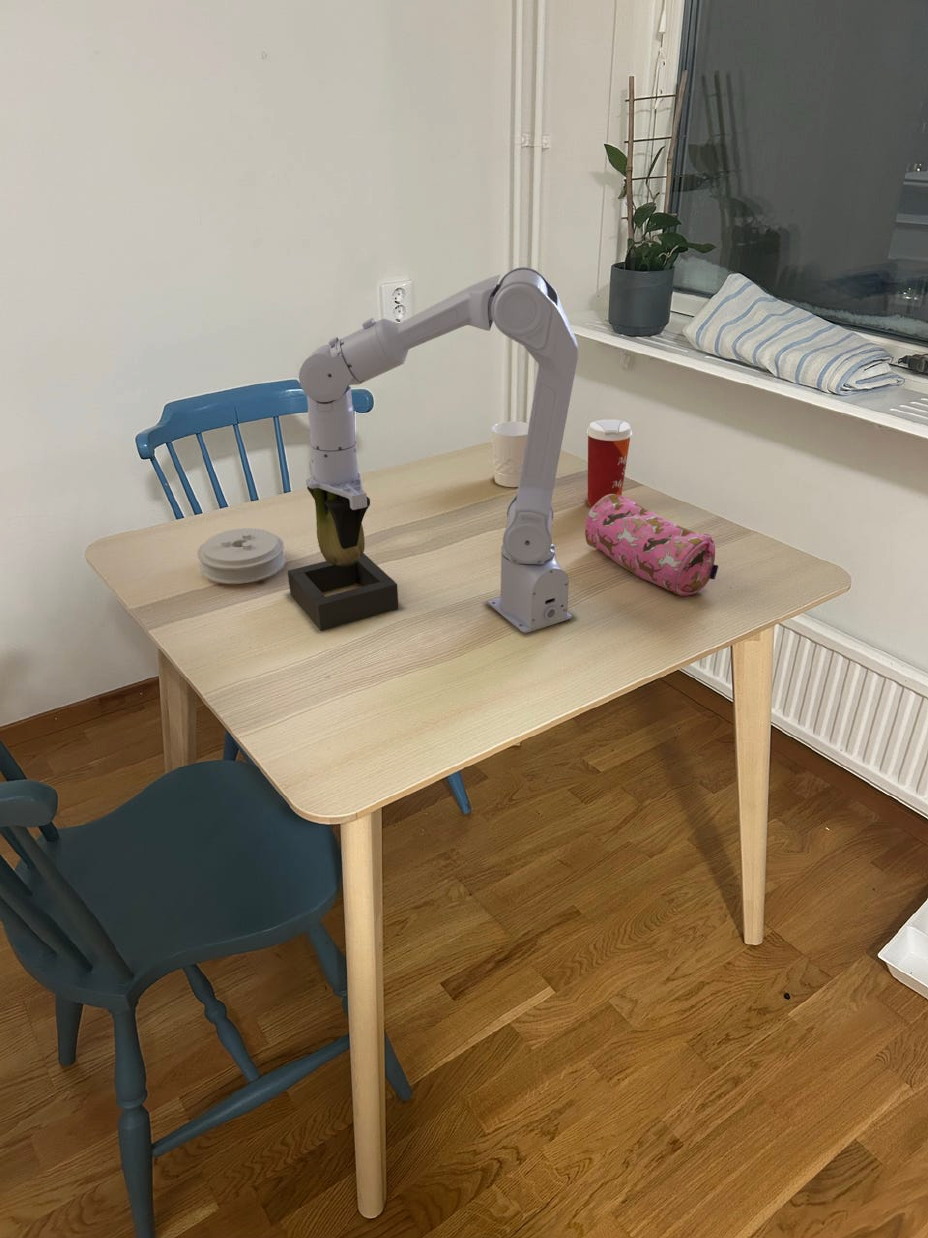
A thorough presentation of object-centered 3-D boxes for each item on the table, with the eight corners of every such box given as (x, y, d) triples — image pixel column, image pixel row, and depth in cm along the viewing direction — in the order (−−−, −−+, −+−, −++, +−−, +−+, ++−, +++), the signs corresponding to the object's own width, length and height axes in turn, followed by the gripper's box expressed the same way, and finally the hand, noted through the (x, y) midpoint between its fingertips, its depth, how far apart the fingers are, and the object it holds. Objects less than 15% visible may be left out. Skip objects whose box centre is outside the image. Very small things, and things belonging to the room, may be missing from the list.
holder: (398, 609, 124) (397, 583, 122) (320, 631, 119) (318, 605, 117) (364, 575, 132) (362, 551, 130) (290, 595, 127) (287, 570, 125)
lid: (261, 594, 128) (257, 563, 125) (184, 583, 131) (178, 552, 128) (300, 556, 138) (297, 527, 136) (228, 546, 141) (223, 517, 139)
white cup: (488, 487, 161) (488, 434, 156) (494, 471, 168) (494, 420, 163) (531, 489, 160) (533, 436, 155) (535, 473, 167) (537, 422, 162)
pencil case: (721, 588, 128) (730, 532, 124) (675, 606, 124) (683, 549, 119) (618, 536, 143) (623, 484, 139) (574, 551, 139) (578, 498, 134)
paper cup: (629, 512, 151) (636, 432, 144) (584, 512, 152) (589, 432, 144) (622, 494, 158) (629, 417, 151) (579, 494, 158) (584, 417, 151)
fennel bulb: (317, 567, 121) (309, 485, 115) (329, 552, 125) (322, 471, 119) (358, 571, 120) (351, 488, 114) (369, 555, 124) (363, 474, 118)
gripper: (284, 433, 118) (295, 526, 125) (326, 467, 107) (335, 567, 114) (333, 424, 121) (341, 516, 128) (379, 456, 110) (385, 554, 117)
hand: (342, 539), depth 121 cm, fingers closed on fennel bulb, 4 cm apart
